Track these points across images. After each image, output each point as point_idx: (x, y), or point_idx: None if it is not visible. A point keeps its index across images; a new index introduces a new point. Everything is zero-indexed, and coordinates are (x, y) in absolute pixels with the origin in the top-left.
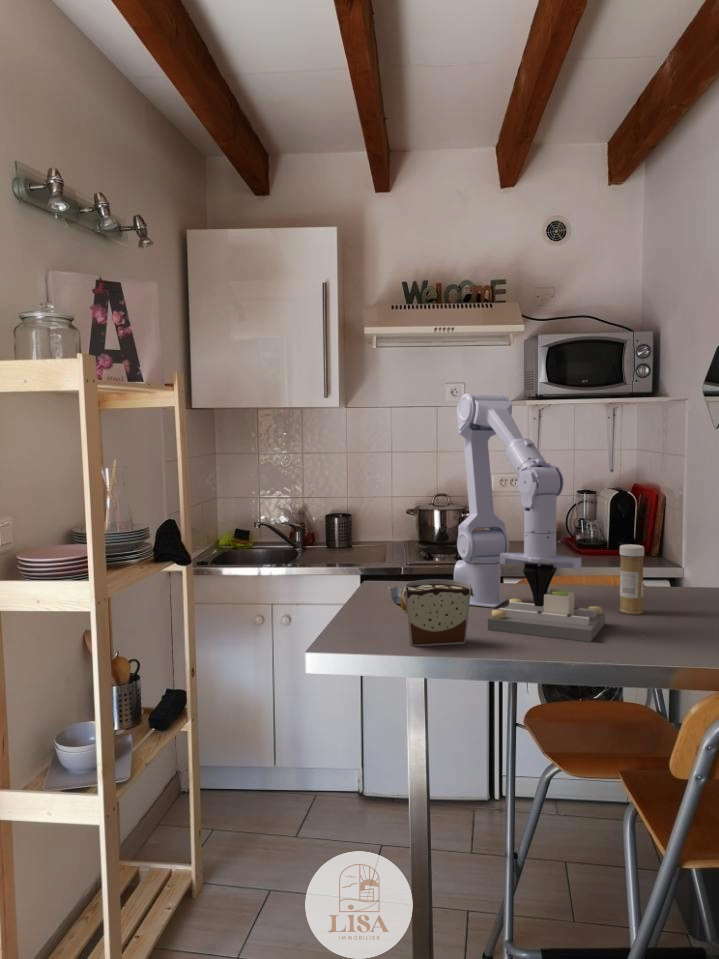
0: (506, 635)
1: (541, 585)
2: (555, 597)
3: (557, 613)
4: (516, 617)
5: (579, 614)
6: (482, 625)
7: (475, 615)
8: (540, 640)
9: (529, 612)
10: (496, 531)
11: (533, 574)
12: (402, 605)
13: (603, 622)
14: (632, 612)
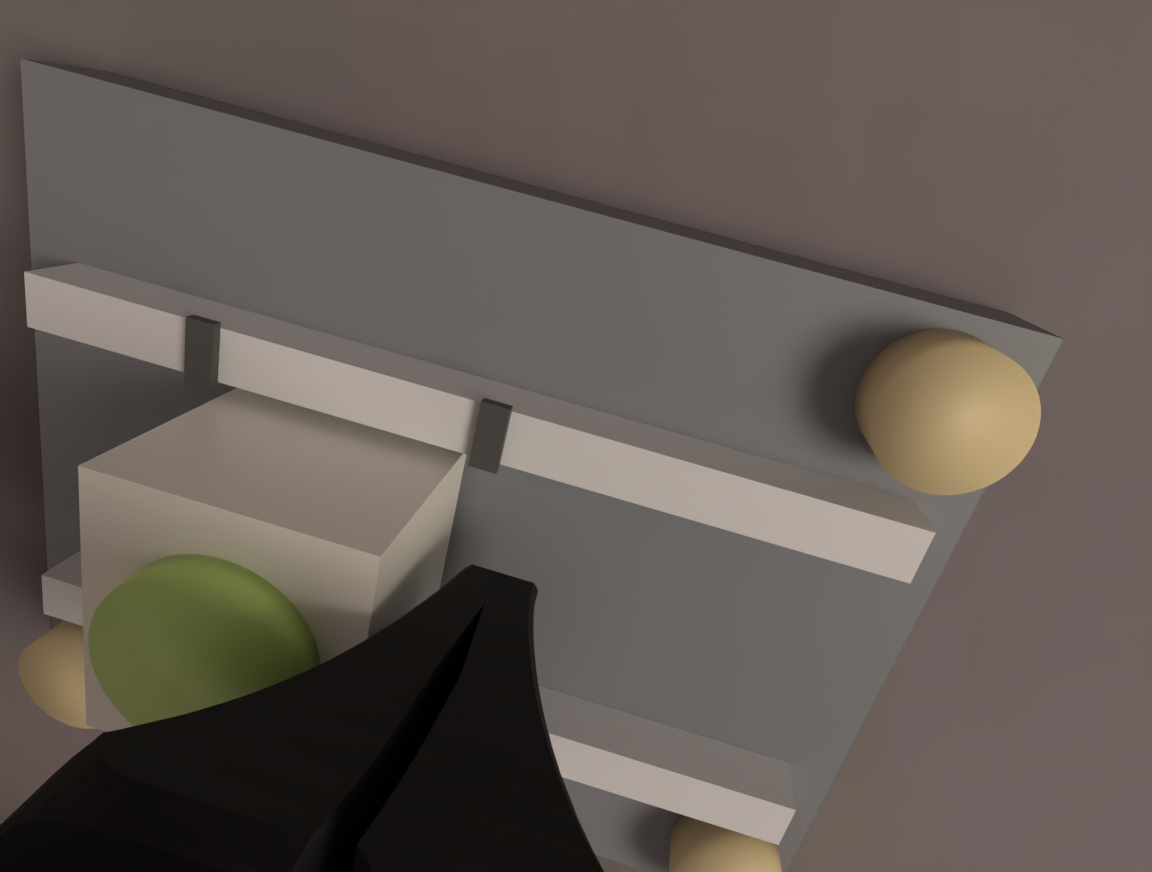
0: (836, 129)
1: (366, 681)
2: (246, 504)
3: (320, 430)
4: (731, 446)
5: None
6: (1044, 467)
7: (1061, 779)
8: (511, 11)
9: (595, 436)
10: None
11: (419, 826)
12: None
13: None
14: None
